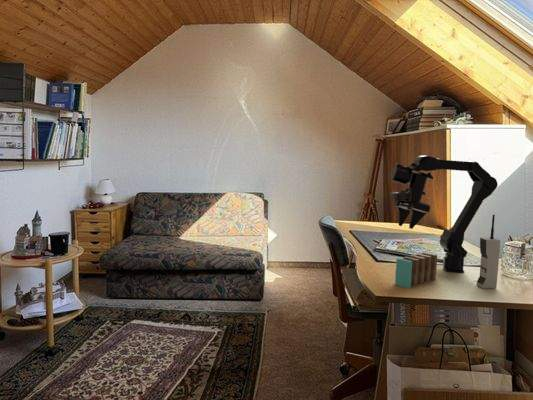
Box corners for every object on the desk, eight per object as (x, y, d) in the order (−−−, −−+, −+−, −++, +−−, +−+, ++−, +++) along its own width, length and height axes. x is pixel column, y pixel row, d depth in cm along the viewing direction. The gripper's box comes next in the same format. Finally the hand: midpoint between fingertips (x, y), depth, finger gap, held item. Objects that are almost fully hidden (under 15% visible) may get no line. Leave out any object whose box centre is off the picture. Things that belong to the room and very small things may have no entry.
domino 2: (404, 281, 150) (405, 256, 149) (417, 285, 146) (418, 259, 145) (401, 282, 149) (403, 257, 148) (414, 286, 145) (416, 260, 144)
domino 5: (423, 276, 158) (424, 252, 157) (435, 279, 154) (437, 254, 153) (420, 276, 157) (422, 252, 156) (433, 280, 153) (435, 255, 152)
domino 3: (410, 279, 153) (412, 255, 152) (423, 283, 149) (425, 257, 148) (408, 280, 152) (409, 255, 151) (421, 284, 148) (422, 258, 147)
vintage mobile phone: (476, 285, 148) (481, 213, 145) (489, 285, 148) (495, 213, 146) (482, 288, 144) (488, 215, 142) (496, 288, 145) (502, 215, 142)
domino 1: (397, 283, 148) (399, 258, 147) (410, 287, 144) (412, 261, 143) (395, 284, 147) (396, 258, 146) (408, 288, 143) (409, 261, 142)
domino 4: (417, 277, 155) (418, 253, 154) (429, 281, 151) (431, 256, 150) (414, 278, 154) (416, 254, 153) (427, 282, 150) (429, 257, 149)
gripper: (387, 181, 171) (376, 219, 172) (407, 182, 153) (395, 224, 153) (412, 189, 173) (401, 226, 173) (436, 190, 154) (424, 232, 154)
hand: (405, 227), depth 163 cm, fingers open, 9 cm apart
